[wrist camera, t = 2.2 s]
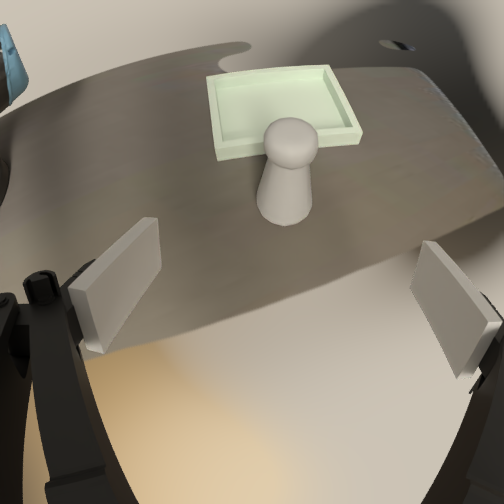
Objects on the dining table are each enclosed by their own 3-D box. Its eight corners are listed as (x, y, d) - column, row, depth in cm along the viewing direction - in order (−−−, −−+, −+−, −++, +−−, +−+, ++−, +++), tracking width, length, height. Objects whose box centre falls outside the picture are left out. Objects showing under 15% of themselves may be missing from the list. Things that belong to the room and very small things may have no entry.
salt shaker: (295, 242, 33) (313, 175, 21) (247, 220, 34) (238, 145, 22) (317, 199, 34) (340, 121, 22) (271, 179, 35) (273, 97, 23)
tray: (217, 161, 37) (214, 149, 34) (208, 88, 41) (206, 76, 39) (358, 144, 37) (362, 132, 35) (326, 76, 41) (328, 64, 39)
